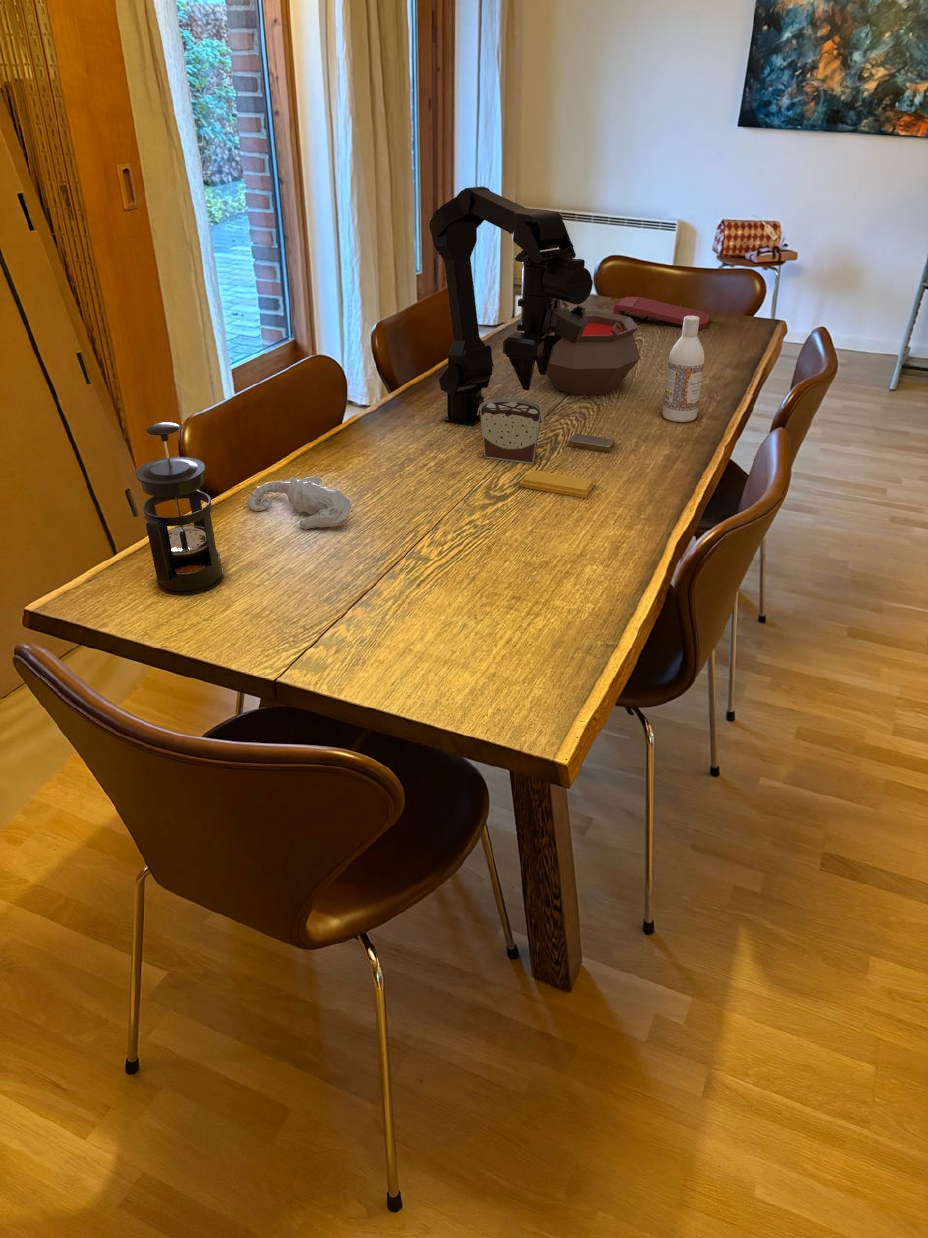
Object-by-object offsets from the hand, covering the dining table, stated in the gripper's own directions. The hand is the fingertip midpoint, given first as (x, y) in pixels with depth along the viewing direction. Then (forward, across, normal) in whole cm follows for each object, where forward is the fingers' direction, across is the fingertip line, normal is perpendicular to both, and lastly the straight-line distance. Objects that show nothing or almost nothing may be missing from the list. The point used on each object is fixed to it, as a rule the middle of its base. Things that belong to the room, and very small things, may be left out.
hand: (534, 382), depth 165 cm
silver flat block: (+13, +7, -10) cm, 18 cm away
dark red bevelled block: (+14, +102, -2) cm, 103 cm away
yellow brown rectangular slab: (+13, -14, -9) cm, 21 cm away
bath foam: (+13, +28, -22) cm, 38 cm away
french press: (+13, -64, +30) cm, 72 cm away
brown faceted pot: (+14, +41, +2) cm, 43 cm away
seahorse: (+13, -40, +26) cm, 49 cm away
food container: (+13, -3, +3) cm, 14 cm away
